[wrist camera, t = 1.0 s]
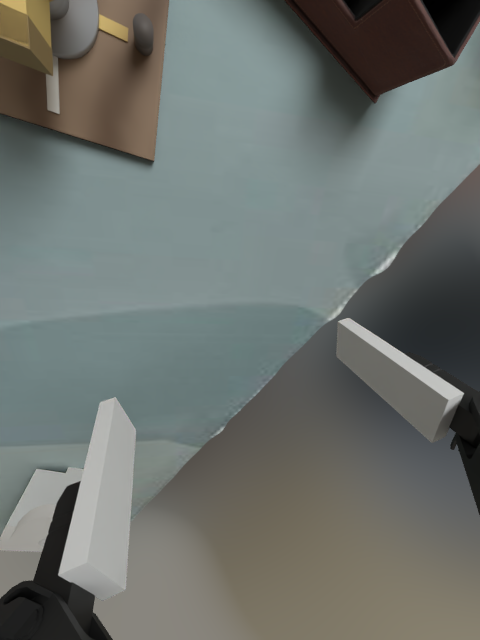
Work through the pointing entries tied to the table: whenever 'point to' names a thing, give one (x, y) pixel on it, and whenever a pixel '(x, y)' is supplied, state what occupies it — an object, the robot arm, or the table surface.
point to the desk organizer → (390, 36)
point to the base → (96, 74)
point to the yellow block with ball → (26, 33)
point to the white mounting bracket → (36, 510)
